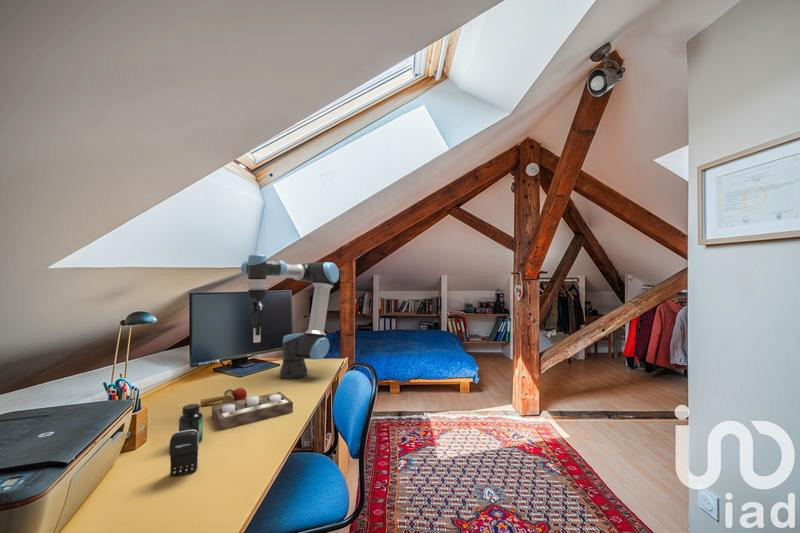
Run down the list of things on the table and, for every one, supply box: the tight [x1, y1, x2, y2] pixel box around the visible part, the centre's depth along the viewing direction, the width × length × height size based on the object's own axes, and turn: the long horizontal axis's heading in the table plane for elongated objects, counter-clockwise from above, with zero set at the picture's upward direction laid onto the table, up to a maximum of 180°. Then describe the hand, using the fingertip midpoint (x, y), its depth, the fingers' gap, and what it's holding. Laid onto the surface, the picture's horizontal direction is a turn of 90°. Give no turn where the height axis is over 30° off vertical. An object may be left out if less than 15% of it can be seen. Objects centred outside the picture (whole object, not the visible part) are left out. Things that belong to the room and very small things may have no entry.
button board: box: [211, 391, 294, 431], centre depth 140 cm, size 27×16×4 cm, turn 128°
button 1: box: [222, 404, 235, 413], centre depth 135 cm, size 5×5×4 cm
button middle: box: [246, 395, 260, 408], centre depth 140 cm, size 5×5×4 cm
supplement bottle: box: [178, 403, 204, 443], centre depth 117 cm, size 7×7×12 cm
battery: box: [168, 429, 199, 477], centre depth 98 cm, size 7×4×11 cm, turn 114°
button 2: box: [270, 394, 281, 402], centre depth 146 cm, size 5×5×4 cm
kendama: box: [200, 387, 248, 407], centre depth 152 cm, size 8×6×18 cm
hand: (256, 342), depth 154 cm, fingers closed
